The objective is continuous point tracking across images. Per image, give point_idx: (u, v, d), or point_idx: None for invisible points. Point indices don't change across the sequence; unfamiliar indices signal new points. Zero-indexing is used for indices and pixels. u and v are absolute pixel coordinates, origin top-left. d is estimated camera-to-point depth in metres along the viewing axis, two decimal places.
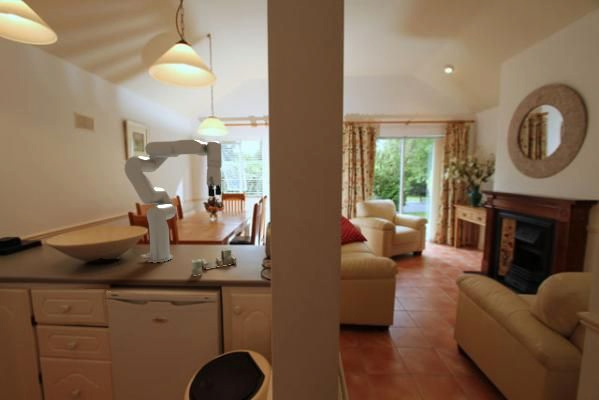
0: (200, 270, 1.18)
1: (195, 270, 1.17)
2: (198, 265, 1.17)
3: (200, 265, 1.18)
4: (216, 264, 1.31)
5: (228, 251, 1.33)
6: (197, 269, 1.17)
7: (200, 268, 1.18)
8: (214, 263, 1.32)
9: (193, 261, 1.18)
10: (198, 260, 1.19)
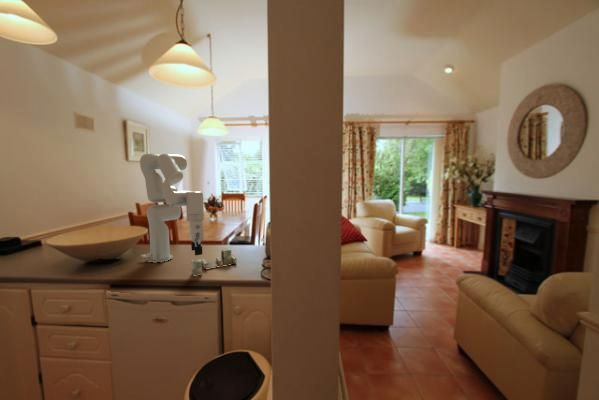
0: (200, 270, 1.18)
1: (195, 270, 1.17)
2: (198, 265, 1.17)
3: (200, 265, 1.18)
4: (216, 264, 1.31)
5: (228, 251, 1.33)
6: (197, 269, 1.17)
7: (200, 268, 1.18)
8: (214, 263, 1.32)
9: (193, 261, 1.18)
10: (198, 260, 1.19)
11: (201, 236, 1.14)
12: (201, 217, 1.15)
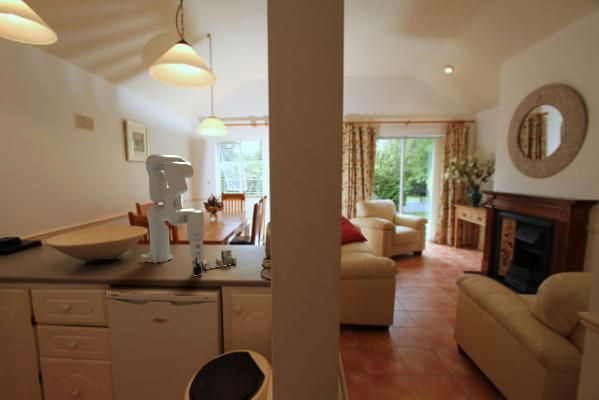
0: None
1: None
2: None
3: None
4: (216, 264, 1.31)
5: (228, 251, 1.33)
6: None
7: None
8: (214, 263, 1.32)
9: (193, 261, 1.18)
10: None
11: (201, 255, 1.15)
12: (201, 236, 1.16)
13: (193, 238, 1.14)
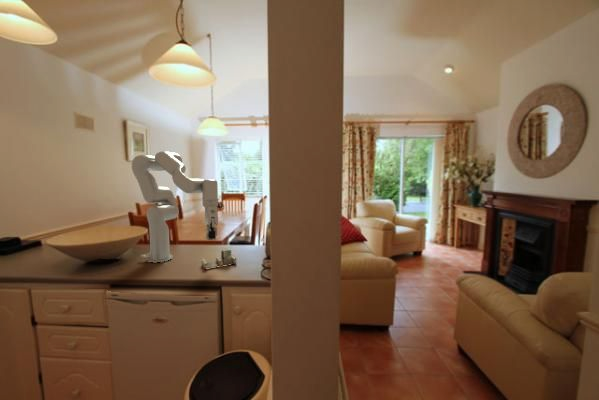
0: None
1: None
2: None
3: None
4: (216, 264, 1.31)
5: (228, 251, 1.33)
6: None
7: None
8: (214, 263, 1.32)
9: (208, 226, 1.28)
10: None
11: (215, 220, 1.25)
12: (216, 203, 1.26)
13: (208, 204, 1.24)
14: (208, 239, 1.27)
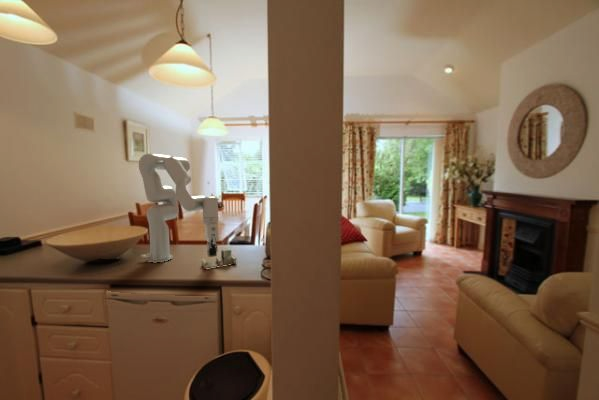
0: None
1: None
2: None
3: None
4: (216, 264, 1.31)
5: (228, 251, 1.33)
6: None
7: None
8: (214, 263, 1.32)
9: (209, 243, 1.29)
10: None
11: (216, 237, 1.26)
12: (216, 220, 1.27)
13: (209, 221, 1.25)
14: (209, 256, 1.27)
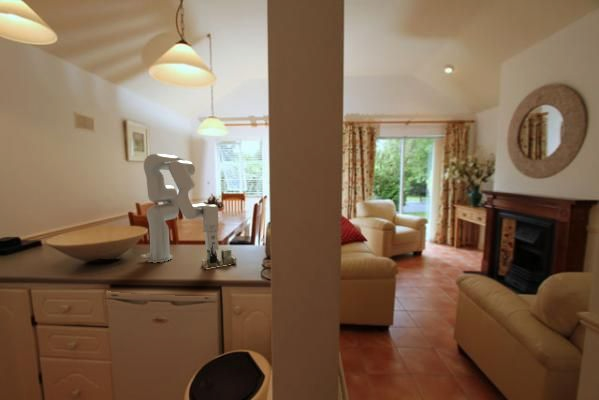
0: None
1: None
2: None
3: None
4: (216, 264, 1.31)
5: (228, 251, 1.33)
6: None
7: None
8: None
9: (208, 252, 1.29)
10: None
11: (216, 245, 1.26)
12: (216, 228, 1.27)
13: (209, 230, 1.25)
14: (209, 265, 1.28)
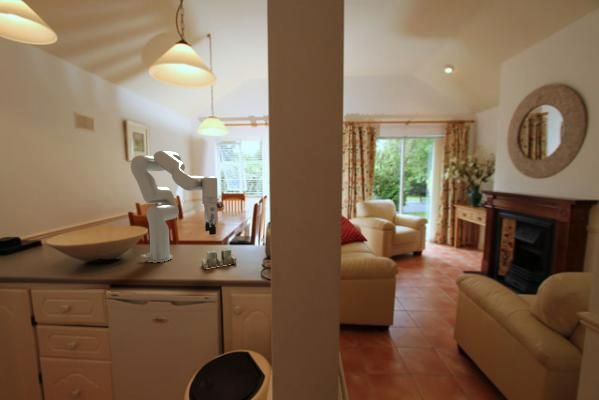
0: (215, 260, 1.29)
1: (210, 259, 1.28)
2: (213, 256, 1.29)
3: (215, 255, 1.29)
4: (216, 264, 1.31)
5: (228, 251, 1.33)
6: (212, 259, 1.29)
7: (215, 258, 1.29)
8: None
9: (208, 252, 1.29)
10: (213, 251, 1.31)
11: (215, 217, 1.25)
12: (215, 200, 1.26)
13: (208, 201, 1.24)
14: (209, 265, 1.28)
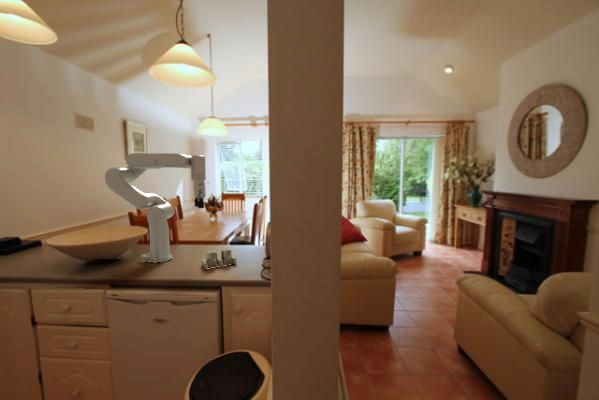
0: (215, 260, 1.29)
1: (210, 259, 1.28)
2: (213, 256, 1.29)
3: (215, 255, 1.29)
4: (216, 264, 1.31)
5: (228, 251, 1.33)
6: (212, 259, 1.29)
7: (215, 258, 1.29)
8: None
9: (208, 252, 1.29)
10: (213, 251, 1.31)
11: (203, 192, 1.36)
12: (203, 177, 1.37)
13: (196, 177, 1.35)
14: (209, 265, 1.28)
